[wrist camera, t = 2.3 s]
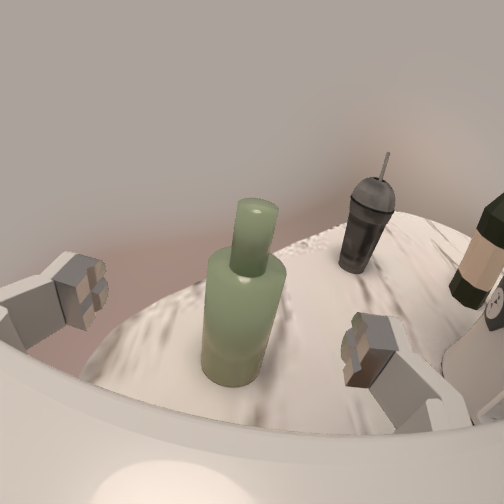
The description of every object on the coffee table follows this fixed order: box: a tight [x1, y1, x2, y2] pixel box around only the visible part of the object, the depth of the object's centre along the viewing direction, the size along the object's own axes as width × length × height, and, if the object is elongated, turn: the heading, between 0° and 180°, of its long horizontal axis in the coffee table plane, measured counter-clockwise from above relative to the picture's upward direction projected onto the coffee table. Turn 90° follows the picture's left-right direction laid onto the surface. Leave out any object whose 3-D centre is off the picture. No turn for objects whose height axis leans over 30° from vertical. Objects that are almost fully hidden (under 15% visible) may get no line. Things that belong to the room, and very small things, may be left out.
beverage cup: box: [339, 152, 395, 274], centre depth 44 cm, size 7×7×20 cm
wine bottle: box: [449, 193, 504, 310], centre depth 39 cm, size 8×8×30 cm
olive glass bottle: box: [201, 198, 287, 387], centre depth 25 cm, size 6×6×17 cm
